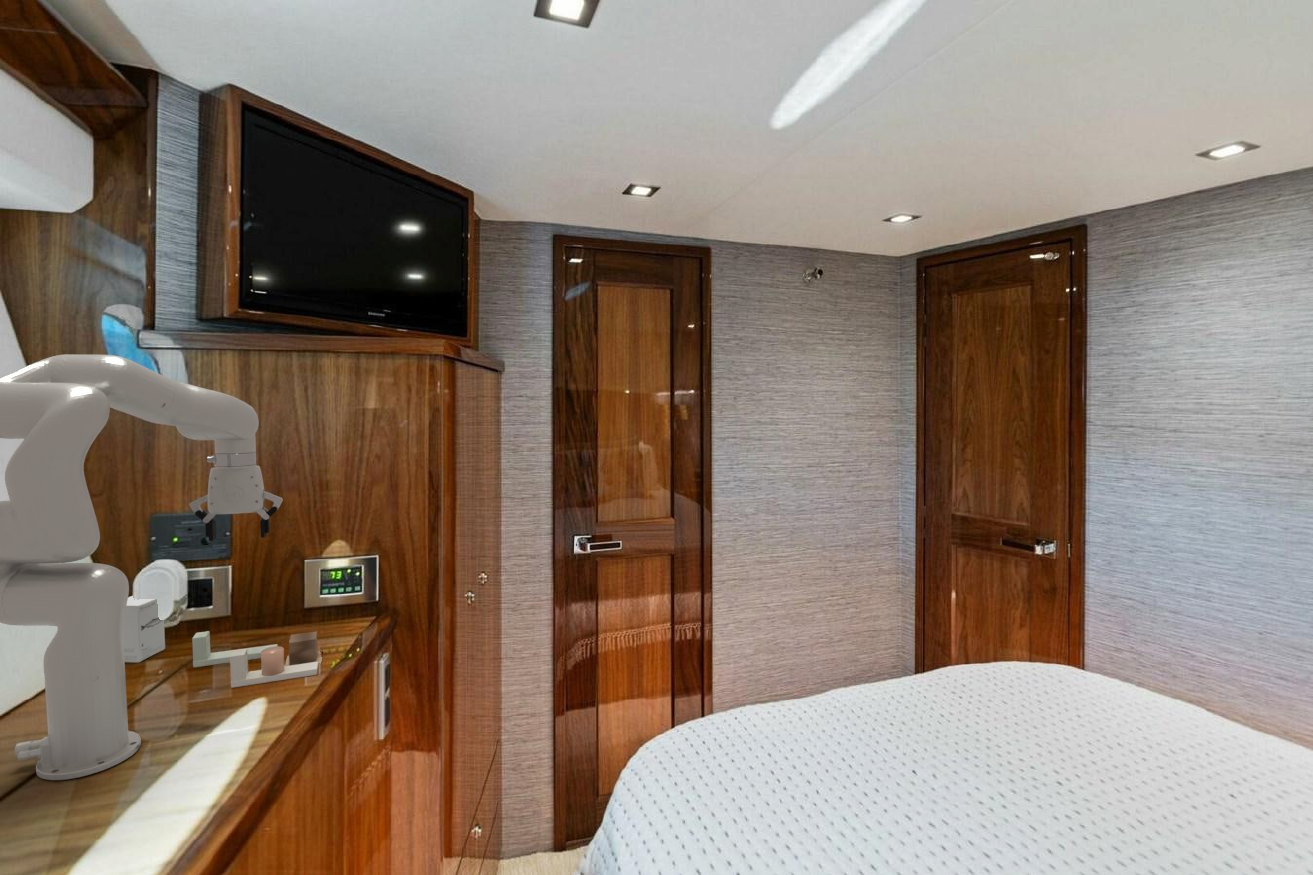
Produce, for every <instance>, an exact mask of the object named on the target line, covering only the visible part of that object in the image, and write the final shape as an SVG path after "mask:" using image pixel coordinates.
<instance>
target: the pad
mask: <svg viewBox="0 0 1313 875" xmlns="http://www.w3.org/2000/svg"><path fill="white" fill-rule="evenodd" d="M320 651H321V650H320ZM320 651H318V654H317V660H316V662H318V665H321V664H322V663H321V662H323V657H321V655H320V654H321V653H320ZM320 663H321V664H320ZM284 666H289V655H287V656H286V660H285V662H284Z"/></svg>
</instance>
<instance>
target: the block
mask: <svg viewBox="0 0 1313 875" xmlns="http://www.w3.org/2000/svg"><path fill="white" fill-rule="evenodd" d="M288 641H289V642H288V656H289V666H291V665H297V664H304V663H311V662H316V660H317V654H318V631H311V632H310V631H309V632H302V633H296V634H295V633H294V634H290V637H289V640H288Z"/></svg>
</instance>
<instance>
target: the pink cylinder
mask: <svg viewBox="0 0 1313 875" xmlns="http://www.w3.org/2000/svg"><path fill="white" fill-rule="evenodd" d="M260 662H261V663H260V664H261V665H260V666H261V669H260V670H262V675H263V676H273V675H277V674H280V673H282V672H283V671H284V666H285V648H284V647H283V646H278V645H277V646H276V647H270V648H266V649H264V650H262V651H261V658H260Z"/></svg>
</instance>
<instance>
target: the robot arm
mask: <svg viewBox="0 0 1313 875" xmlns="http://www.w3.org/2000/svg"><path fill="white" fill-rule="evenodd" d="M110 408H111V409H113V410H115V411H118V412H122V413H125V414H128V415H131V416H133V417H136V418H138V419H141V420H143V421H147V422H149V423H152V424H156V425H157V424H158V425H165V426H173V427H175V428H176V430H177V431H178V432H179V434H181V436H182V437H184V438H187V439H188V440H189V439H190V440H192V441H193V440H194V441H214V453H213V455H209V456H207V457H206V462H207V463H211V464H212V463H213V465H214V466H215V467H211V468H210V471H209V476H208V487H207V494H205V495H204V496H202V497H199V498H198V499H196V500H193V501H191V502H190V503H189V504H188V505H189V507H190V509H191V510H192V512H194V515H195V516H196V517H198V518H199V519H200V520H201V521H203V523H204V524H205V537H206V538H208V542H213V541H215V540H216V539H217V522H216V520H215V517H216V516H217V515H234V514H250V513H257V514H258V515H259V516H260V517H261V519H260V520H259V523H260V538H263V539H264V538H266V537H267V534H269V533H270V532H271V530H270V529H271V528H270V526H271V525H270V524H271V523H270V518H271V517H272V516H273V515H274V514H275V513H276V512H277V511H278V510H279V508H280V506H281V504H282V502H283V500H284V499H283V497H281V496H278V495H275V494H273V493H271V492H268V491H267V490H266V491H265V486H264V479H263V478H264V477H263V475H262V469H261V467H260V465H257V442H256V441H257V440H256V433H257V431H258V429H259V425H260V424H259V423H260V422H259V416H258V414H257V412H256V411H255V409H254V408H253V406H252V405H250V404H249V403H247V402H246V401H244V400H241V399H239V398H237V397H235V396H233V395H229V394H228V393H227V394H226V393H223V392H220V391H218V390H217V391H216V390H212V389H208V388H204V387H202V386H201V387H200V386H196V385H193V384H190V383H185V382H180V381H176V380H174V379H172V378H169V377H167V376H165V375H162V374H160V373H158V372H156V371H154V370H152V369H150V368H148V367H146V366H144V365H141V364H140V363H137V362H135V361H134V360H131V359H129V358H127V357H126V358H125V357H123V356H119V355H113V354H73V353H72V354H69V353H68V354H65V353H64V354H57V355H54V356H50V357H47V358H44V359H41V360H39V361H36V362H33V363H31V364H29V365H26V366H25V367H22V368H20V369H16V370H15V371H13V372H11V373H8V374H6V375H3V376H2V377H0V439H5V440H6V439H7V440H9V439H10V440H11V439H12V440H13V439H14V440H15V439H17V440H19V439H21V440H22V441H21V443H20V444H19V445H18V447H16V449H15V450H14V452H13V454H12V455H11V457H10V458H9V461H8V463H7V465H6V468H5V472H4V482H5V488H6V490H7V494H8V495H7V496H8V498H9V499H8V500H1V501H0V623H1V624H4V625H8V626H23V627H27V626H28V627H29V626H31V627H32V626H35V627H36V626H38V627H39V626H45V627H47V626H49V627H57V631H56V633H55V634H54V636H53V638H52V639H51V641H50V642H49V644H48V646H47V648H46V650H45V652H44V655H43V674H44V675H43V676H44V690H45V706H46V708H45V709H46V721H47V724H46V725H47V736H44V737H42V739H38V740H34V739H33V740H27V741H21V742H20V741H19V742H18V743H16V744H15V745H14V746H15V747H14V755H15V757H17V761H18V762H20V761H26V760H30V759H35V758H37V759H38V761H37V763H36V765H35V773H36V776H37V777H38V778H40V779H43V780H48V781H65V780H73V779H77V778H78V779H79V778H82V777H85V776H89V775H93V774H96V773H99V772H102V771H105V770H107V769H110V768H113V767H115V766H116V765H118V764H120V763H122V762H123V761H125V760H127V759H129V758H130V757H132V756H133V755H134V754H135V753H137V751H138V750H139V749H140V748H141V743H142V739H141V736H140V734H139V733H137V732H135V731H132V730H129V723H128V722H129V720H128V717H129V716H128V701H127V684H126V665H125V663H126V662H125V661H124V643H123V628H124V616H125V610H126V605H127V600H128V597H129V593H130V585H129V584H130V583H129V580H128V577H127V576H126V574H125V573H124V572H123V571H122V570H120V569H119V568H117V567H115V566H113V565H110V564H106V563H105V564H104V563H97V562H77V561H81V560H83V559H85V558H88V557H90V556H91V555H92V554H93V553H94V552H95V551H96V550H97V549H98V547H99V544H100V540H101V532H100V527H99V523H98V518H97V516H96V513H95V508H94V506H93V502H92V499H91V495H90V492H89V489H88V486H87V481H86V476H85V471H84V470H85V469H84V463H85V459H86V457H87V454H88V451H89V450H90V448H91V446H92V444H93V442H94V441H95V440H96V438H97V437H98V435H99V434H100V433H101V431H102V430H103V429H104V427H105V426H106V425H107V423H108V421H109V417H110V411H111V410H110ZM266 500H268V501H271V502H272V503H273V504H272V507H271V508H269V510H268V509H267V508H266V507H265V504H266ZM206 502H207V511H208V513H207V512H206V511H204V510H203V509H202V507H201V505H203V504H205V503H206Z"/></svg>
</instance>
